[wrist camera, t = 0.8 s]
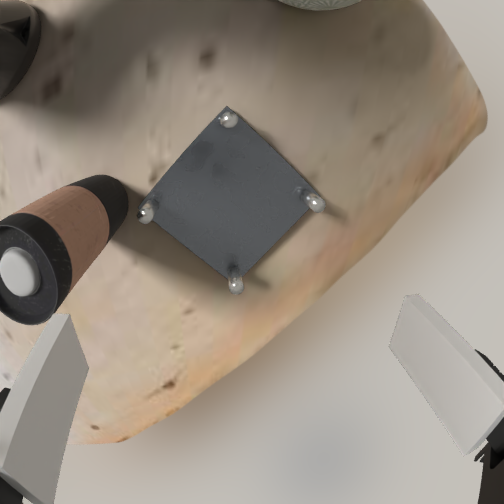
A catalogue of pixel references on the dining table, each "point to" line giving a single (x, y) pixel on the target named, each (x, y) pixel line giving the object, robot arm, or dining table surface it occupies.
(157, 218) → the stand
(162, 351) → the dining table surface
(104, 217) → the travel mug
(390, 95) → the dining table surface
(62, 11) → the dining table surface
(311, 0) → the planter
